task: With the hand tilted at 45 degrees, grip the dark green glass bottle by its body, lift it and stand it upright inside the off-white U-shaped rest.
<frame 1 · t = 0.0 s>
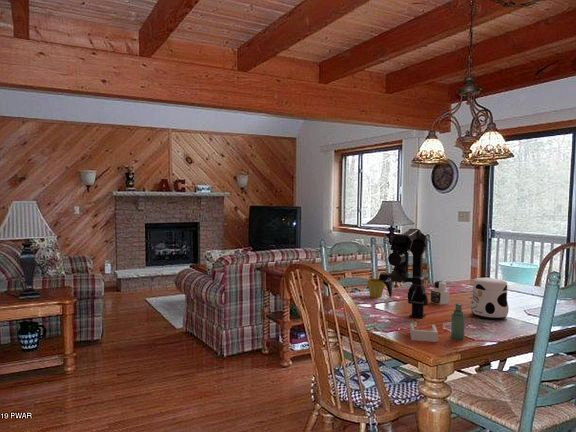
hand: (400, 298, 197), 15 cm above the table, tool pointing down, fingers open, 9 cm apart
medicine bottle: (439, 303, 249), on the table
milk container: (488, 316, 223), on the table
u rest: (423, 337, 190), on the table
plant pot: (376, 296, 263), on the table
glass bottle: (457, 338, 189), on the table
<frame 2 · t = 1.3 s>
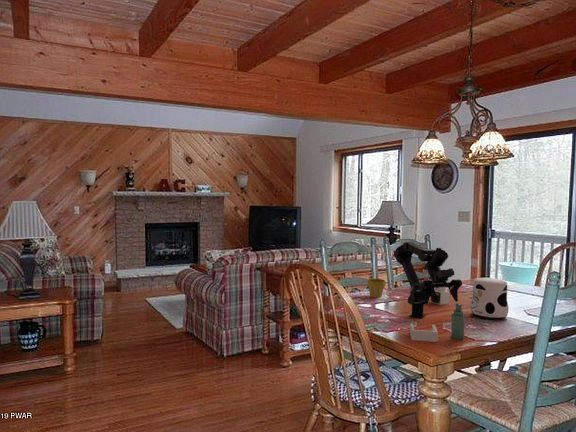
hand: (447, 301, 196), 13 cm above the table, tool tilted 45°, fingers open, 9 cm apart
nothing on the table moved.
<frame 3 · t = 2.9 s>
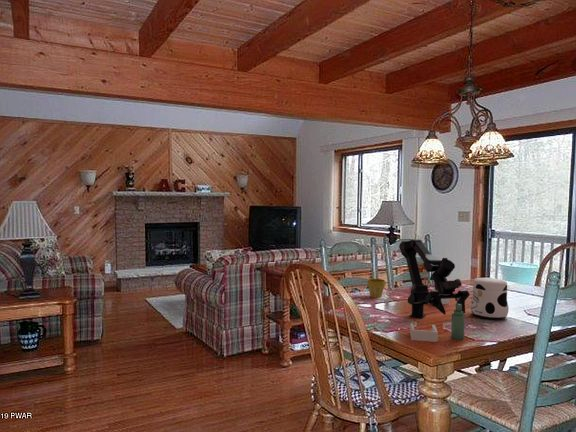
hand: (454, 313, 191), 10 cm above the table, tool tilted 45°, fingers open, 9 cm apart
nothing on the table moved.
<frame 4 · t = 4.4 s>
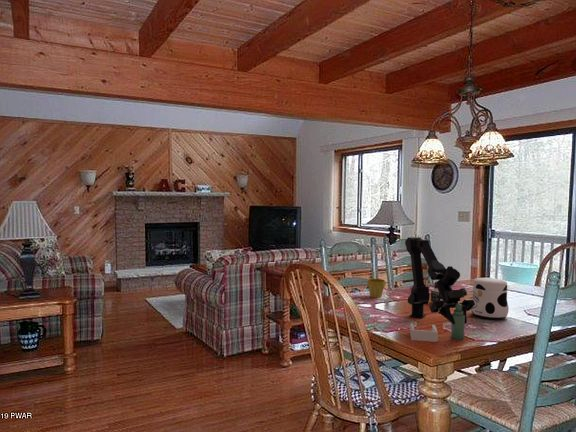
hand: (459, 323, 188), 7 cm above the table, tool tilted 45°, fingers closed on glass bottle, 5 cm apart
glass bottle: (457, 338, 189), on the table, touching gripper
everything else where it was.
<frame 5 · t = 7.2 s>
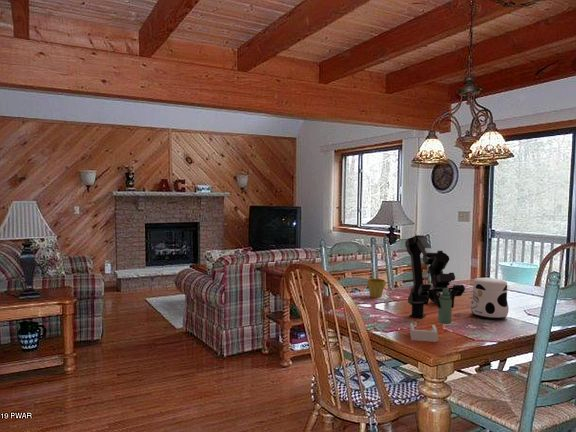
hand: (446, 307, 187), 13 cm above the table, tool tilted 45°, fingers closed on glass bottle, 5 cm apart
glass bottle: (444, 322, 189), point 7 cm above the table, touching gripper
everything else where it was.
when the fingers open (9 cm above the table, at t = 9.8 s): glass bottle drops 1 cm, resting on u rest.
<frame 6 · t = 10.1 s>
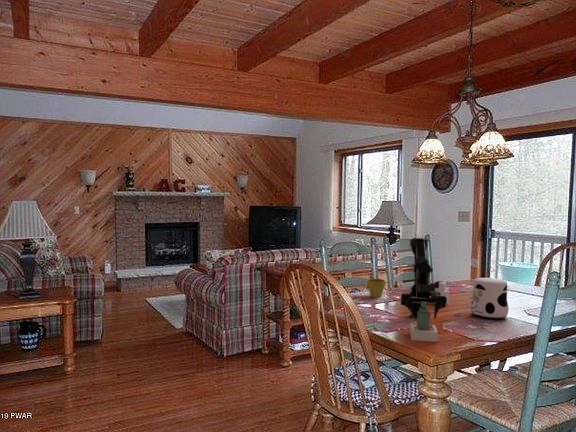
hand: (424, 317, 188), 9 cm above the table, tool tilted 45°, fingers open, 8 cm apart
glass bottle: (423, 335, 190), point 1 cm above the table, touching u rest
everything else where it was.
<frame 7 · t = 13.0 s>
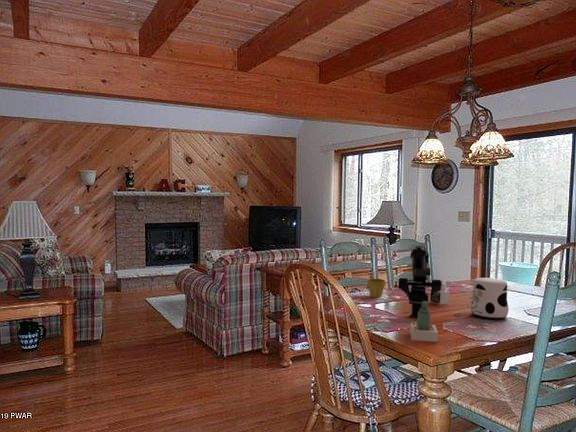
hand: (420, 300, 199), 13 cm above the table, tool tilted 45°, fingers open, 9 cm apart
nothing on the table moved.
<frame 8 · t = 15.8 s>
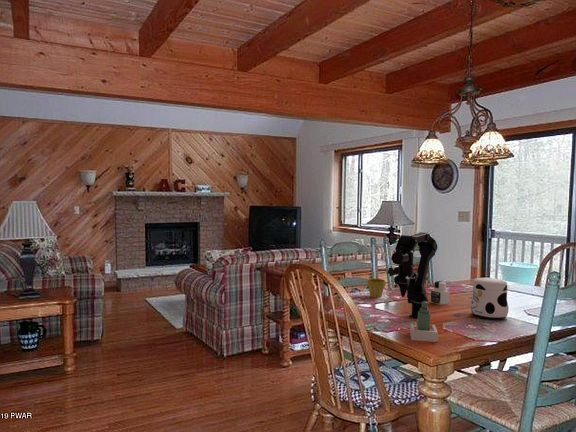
hand: (405, 295, 210), 13 cm above the table, tool pointing down, fingers open, 9 cm apart
nothing on the table moved.
at the end: glass bottle 0.1 cm off-centre on the u rest, point 0.7 cm above the u rest's base; glass bottle tilted 2°; the gripper is holding nothing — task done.
